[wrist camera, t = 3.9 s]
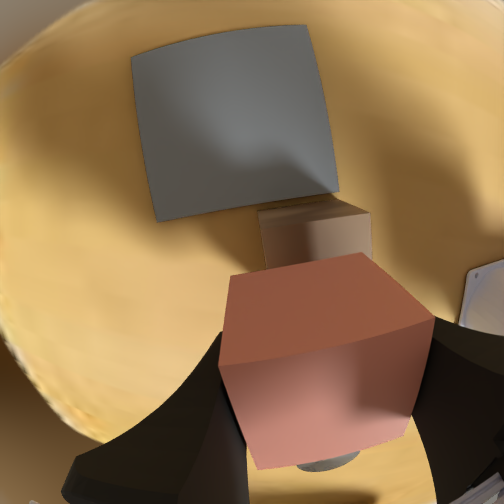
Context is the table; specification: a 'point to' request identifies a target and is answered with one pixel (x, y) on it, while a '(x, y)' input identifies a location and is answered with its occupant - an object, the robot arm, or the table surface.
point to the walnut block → (314, 232)
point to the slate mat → (233, 121)
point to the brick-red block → (322, 358)
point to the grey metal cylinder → (328, 463)
